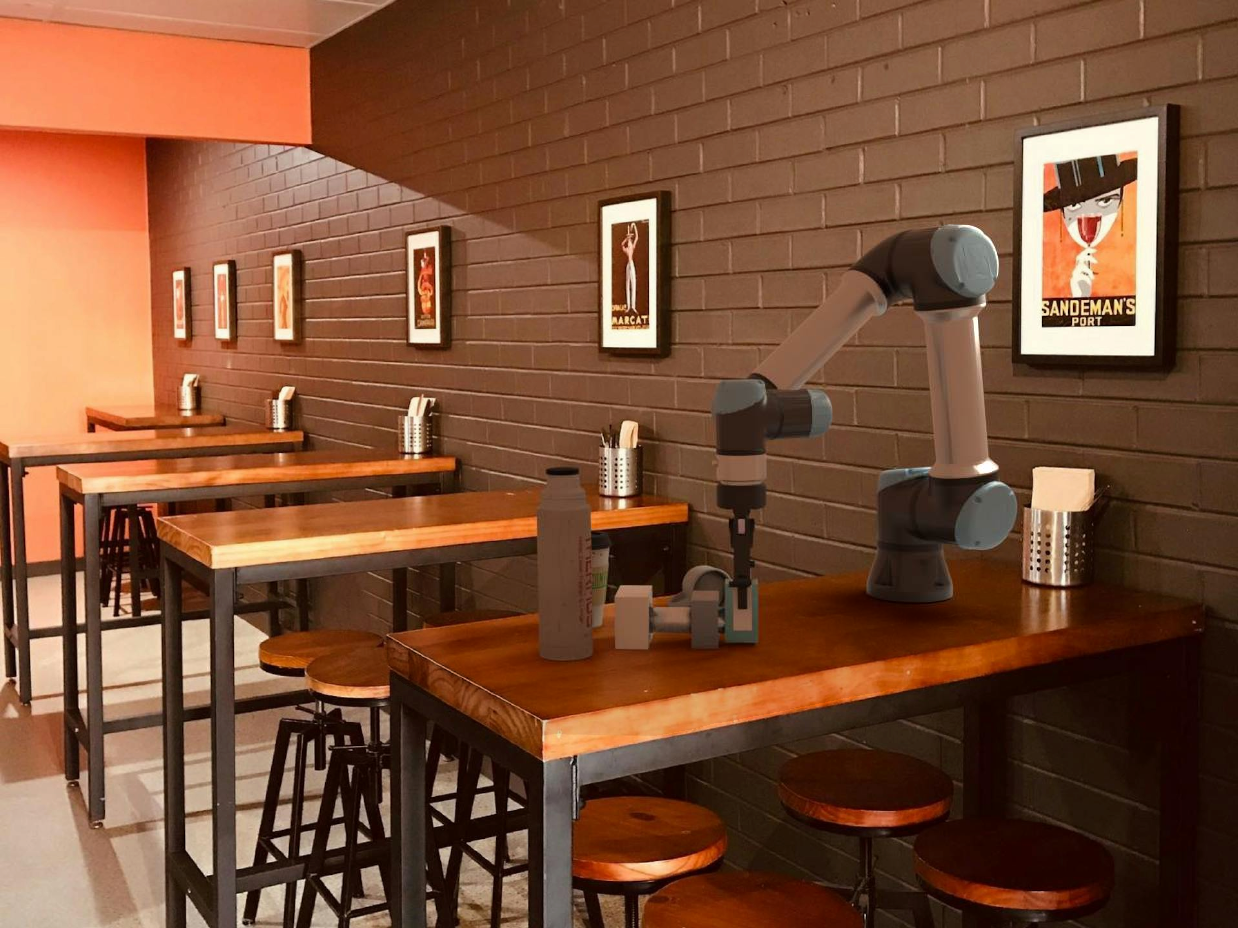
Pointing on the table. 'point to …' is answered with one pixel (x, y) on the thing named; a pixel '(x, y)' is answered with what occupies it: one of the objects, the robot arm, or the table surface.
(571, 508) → the thermos bottle
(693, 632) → the square hollow collar
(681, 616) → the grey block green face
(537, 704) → the table surface
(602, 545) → the coffee cup
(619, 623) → the socket block
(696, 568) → the ceramic mug
